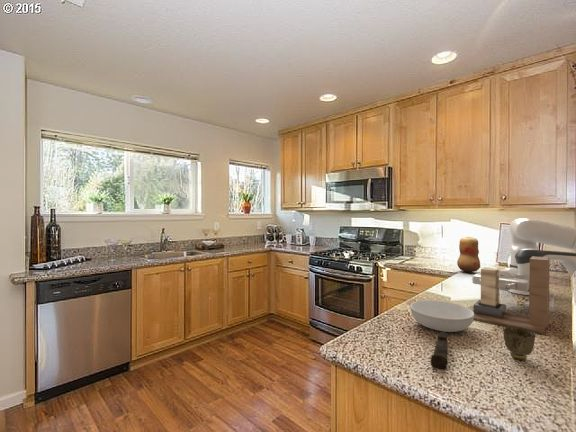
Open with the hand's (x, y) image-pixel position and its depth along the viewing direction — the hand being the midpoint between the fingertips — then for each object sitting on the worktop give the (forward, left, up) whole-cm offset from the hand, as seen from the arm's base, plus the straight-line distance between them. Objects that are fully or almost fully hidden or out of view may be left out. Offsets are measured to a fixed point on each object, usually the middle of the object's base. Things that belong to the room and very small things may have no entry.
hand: (494, 284), depth 126 cm
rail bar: (+5, -1, -11) cm, 12 cm away
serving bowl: (+32, -11, -12) cm, 36 cm away
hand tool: (+55, -4, -12) cm, 57 cm away
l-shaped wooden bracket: (+7, +4, -12) cm, 15 cm away
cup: (+42, +13, -12) cm, 45 cm away
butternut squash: (-90, -31, -12) cm, 96 cm away
